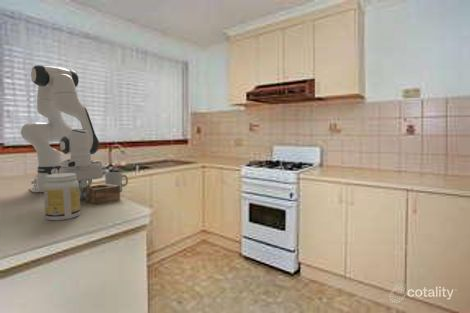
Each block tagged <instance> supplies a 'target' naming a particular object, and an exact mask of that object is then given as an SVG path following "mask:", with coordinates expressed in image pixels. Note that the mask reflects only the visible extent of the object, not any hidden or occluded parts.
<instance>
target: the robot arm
mask: <svg viewBox="0 0 470 313" xmlns="http://www.w3.org/2000/svg"><path fill="white" fill-rule="evenodd" d="M30 77H31V81H32V83H33V84H34V85H36V86H38V87H37V99H36V110H37V112H38V114H39V115H41V116H43V117H45V118H47V119H48V122H29V123H24V124H23V125H22V127H21V130H20V135H21V137H22V138H23V140H24V141H26V142H28V143H29V144H30V145H31V146H33V148H34V149H35V151H36V155H37V161H38V162H37V163H38V166H37V174H36V175H35V176H34V178H33V179H31V183H30V184H32V185H33V186H29V190H30V191H31V192H32V193H44V184H45V183H46V182H47V181H46V180H45V179H46V176H47V175H51V174H59V173H75V174H76V177H77V178H76V179H75V180H77V181H81V180H82V178H85V179H86V180H87V187H90V186H92V185H91V184H92V183H93V180H97V179H98V180H99V179H102V178H103V177H104V174H103V164H102V162H101V161H100V160H92V155H94V154H96V153H97V152H98V151H99V149H100V141H99V139H98V137H97V135H96V132H95V130H94V126H93V123H92V120H91V118H90V115H89V112H88V109H87V108H86V106H84V105H83V104H82V103H81V102H80V100H79V96H78V92H77V87H78V85H79V81H80V80H79V75H78V73H77V72H76V71H75V70H73V69H67V68H63V67H57V66H48V65H47V66H46V65H34V66H33V67H32V68H31V70H30ZM62 113H64V114H66V115H69V116H71V117H74V118H75V119H76V120H78V121H79V123H80V125H81V128H82V129H81V128H72V126H71V125H69V123H67V122H66V121H65V120H64V118H63V116H62ZM56 142H57V143H58V142H59V149H56V148H54V147H51V145H50V143H56ZM61 152H62V153H63V154H64V155H68V156H69V155H70V158H69V159H67V160H63V161H62V158H61V157H62V156H61V155H62V154H61Z"/></svg>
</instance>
